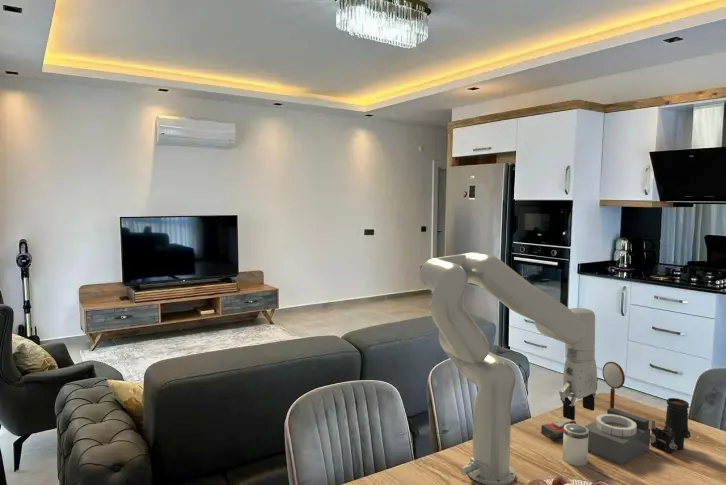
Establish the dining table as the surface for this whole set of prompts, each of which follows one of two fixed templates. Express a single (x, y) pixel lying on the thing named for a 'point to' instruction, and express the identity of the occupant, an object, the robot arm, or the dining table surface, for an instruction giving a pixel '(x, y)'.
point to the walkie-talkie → (555, 429)
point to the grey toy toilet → (618, 436)
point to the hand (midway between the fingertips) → (578, 413)
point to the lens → (575, 444)
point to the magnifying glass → (613, 378)
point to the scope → (672, 427)
